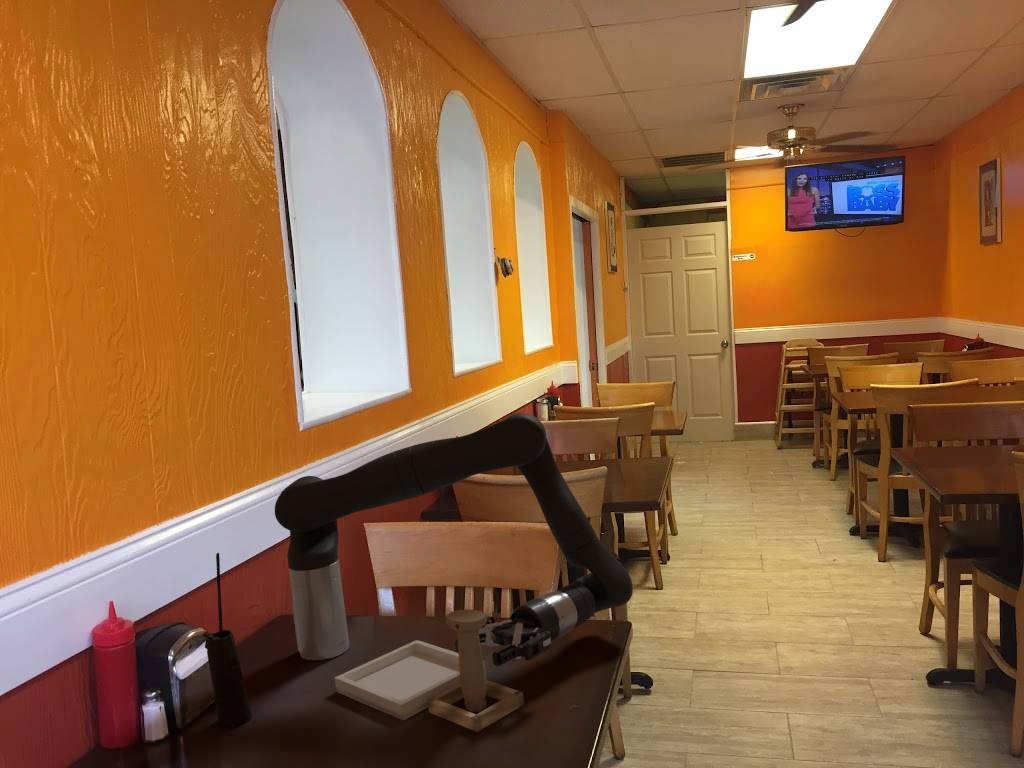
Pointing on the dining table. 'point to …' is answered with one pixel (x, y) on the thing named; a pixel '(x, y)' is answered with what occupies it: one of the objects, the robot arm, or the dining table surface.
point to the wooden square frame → (477, 722)
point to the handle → (470, 656)
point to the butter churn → (226, 672)
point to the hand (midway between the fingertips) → (475, 653)
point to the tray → (402, 679)
